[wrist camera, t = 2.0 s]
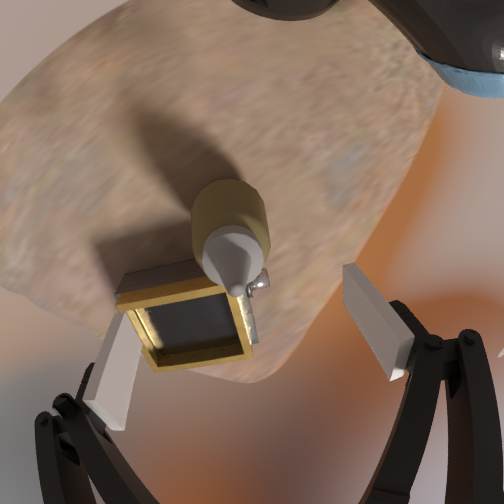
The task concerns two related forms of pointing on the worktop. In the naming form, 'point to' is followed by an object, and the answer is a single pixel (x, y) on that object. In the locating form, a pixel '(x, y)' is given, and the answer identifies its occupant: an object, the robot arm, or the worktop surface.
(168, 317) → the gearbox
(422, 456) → the robot arm
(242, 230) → the squeeze bottle
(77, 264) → the worktop surface
